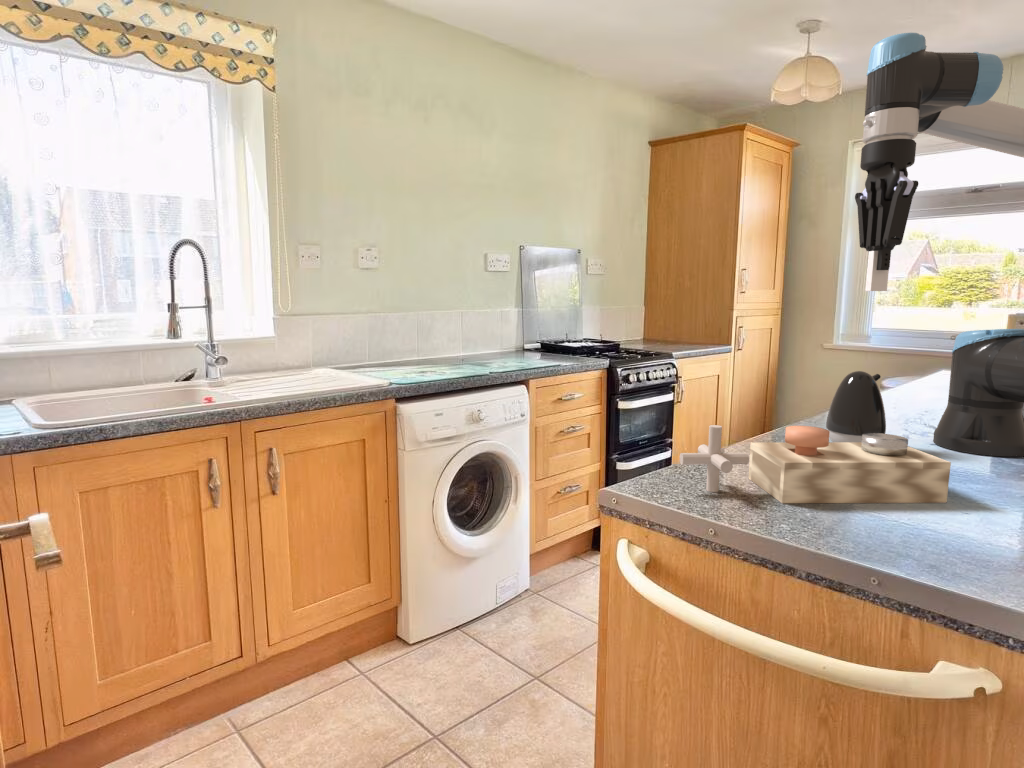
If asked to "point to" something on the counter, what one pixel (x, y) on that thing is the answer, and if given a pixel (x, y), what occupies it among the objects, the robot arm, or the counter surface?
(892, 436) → the grey shiny disc
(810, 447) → the terracotta plunger
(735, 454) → the pipe connector
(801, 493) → the panel housing
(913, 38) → the robot arm
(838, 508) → the counter surface
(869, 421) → the pump dispenser
